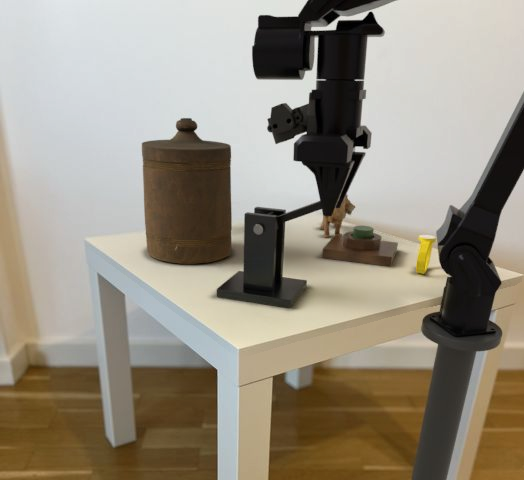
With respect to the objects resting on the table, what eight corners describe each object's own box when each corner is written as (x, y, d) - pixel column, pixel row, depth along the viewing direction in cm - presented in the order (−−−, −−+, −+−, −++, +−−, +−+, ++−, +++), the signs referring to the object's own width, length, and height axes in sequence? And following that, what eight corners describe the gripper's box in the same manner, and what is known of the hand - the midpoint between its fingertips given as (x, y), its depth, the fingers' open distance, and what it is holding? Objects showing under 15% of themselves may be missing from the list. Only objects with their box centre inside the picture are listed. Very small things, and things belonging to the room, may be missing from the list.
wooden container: (207, 237, 107) (206, 114, 97) (246, 257, 95) (249, 121, 86) (134, 246, 99) (124, 115, 89) (167, 269, 88) (160, 122, 78)
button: (373, 236, 99) (375, 226, 98) (370, 241, 96) (372, 231, 95) (354, 234, 100) (355, 224, 99) (350, 238, 97) (351, 229, 96)
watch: (427, 278, 89) (433, 242, 86) (409, 275, 90) (415, 239, 87) (432, 267, 94) (438, 233, 91) (416, 265, 95) (421, 231, 92)
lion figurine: (353, 242, 107) (358, 195, 103) (326, 242, 106) (331, 195, 102) (334, 223, 120) (338, 181, 116) (310, 223, 119) (313, 181, 115)
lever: (342, 204, 74) (336, 187, 73) (335, 212, 70) (328, 194, 69) (265, 231, 79) (259, 215, 78) (253, 240, 75) (247, 223, 74)
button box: (396, 251, 102) (399, 232, 101) (390, 266, 94) (393, 246, 92) (333, 243, 105) (335, 225, 104) (322, 257, 97) (323, 238, 95)
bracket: (306, 287, 83) (312, 209, 78) (290, 308, 75) (295, 223, 70) (238, 277, 86) (239, 201, 81) (216, 296, 78) (216, 214, 73)
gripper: (295, 80, 76) (292, 195, 83) (250, 79, 60) (251, 222, 67) (376, 80, 73) (366, 200, 79) (351, 80, 57) (341, 230, 64)
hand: (331, 211), depth 72 cm, fingers closed on lever, 5 cm apart
